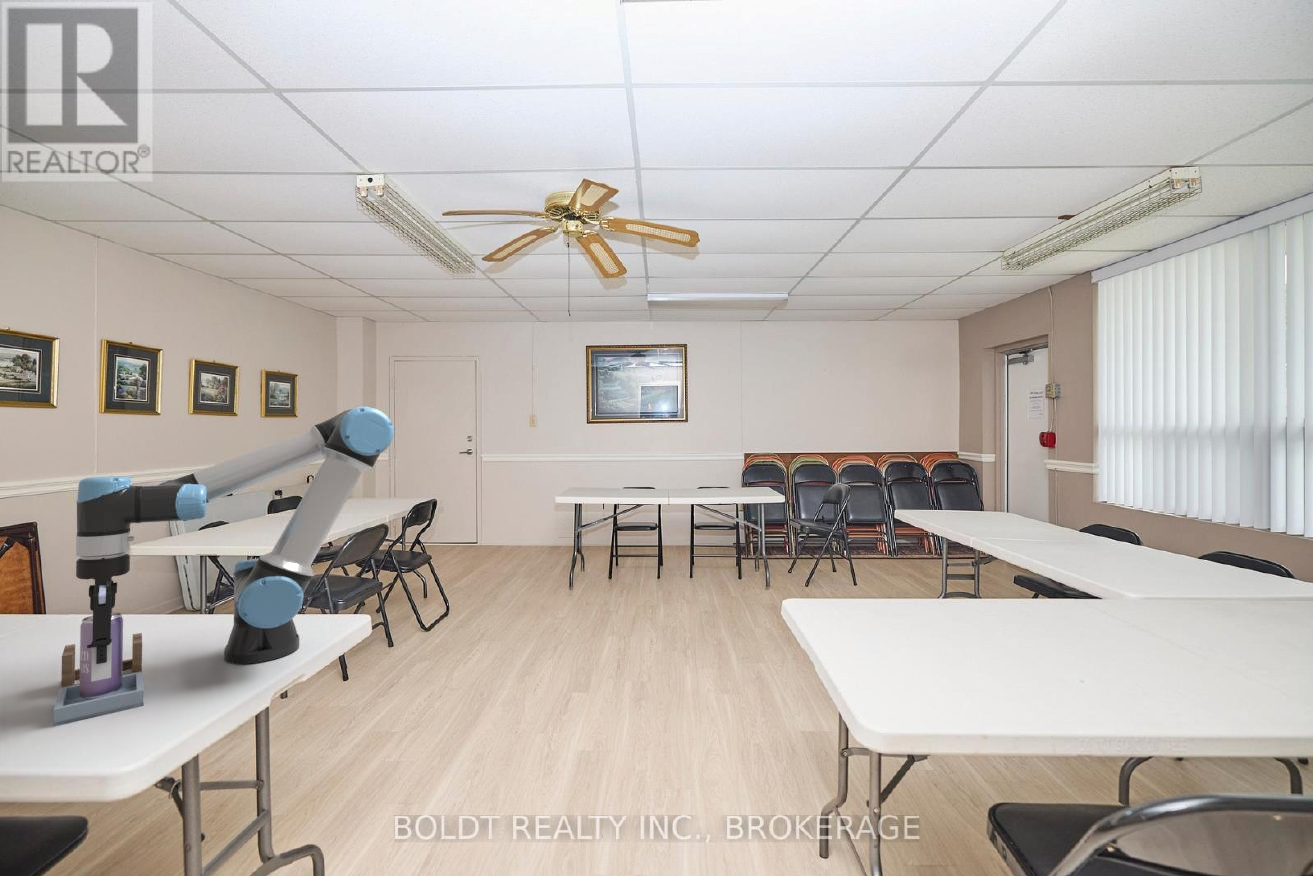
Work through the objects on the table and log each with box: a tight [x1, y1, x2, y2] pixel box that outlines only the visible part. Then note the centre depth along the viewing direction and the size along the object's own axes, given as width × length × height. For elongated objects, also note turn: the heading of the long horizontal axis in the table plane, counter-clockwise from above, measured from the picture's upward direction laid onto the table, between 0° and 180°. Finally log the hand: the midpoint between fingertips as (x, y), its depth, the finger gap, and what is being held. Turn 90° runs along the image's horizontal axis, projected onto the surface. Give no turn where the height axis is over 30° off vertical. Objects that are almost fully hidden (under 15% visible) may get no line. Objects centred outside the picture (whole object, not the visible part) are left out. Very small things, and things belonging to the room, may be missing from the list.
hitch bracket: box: [60, 632, 143, 688], centre depth 121 cm, size 11×12×8 cm
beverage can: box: [79, 612, 124, 699], centre depth 110 cm, size 6×6×15 cm
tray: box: [53, 670, 145, 727], centre depth 110 cm, size 12×12×3 cm
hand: (102, 673), depth 110 cm, fingers closed on beverage can, 6 cm apart
